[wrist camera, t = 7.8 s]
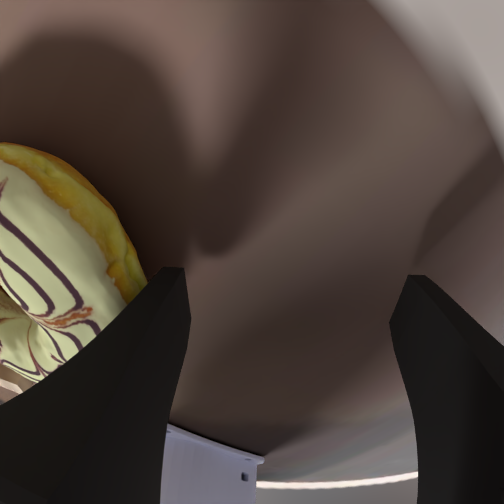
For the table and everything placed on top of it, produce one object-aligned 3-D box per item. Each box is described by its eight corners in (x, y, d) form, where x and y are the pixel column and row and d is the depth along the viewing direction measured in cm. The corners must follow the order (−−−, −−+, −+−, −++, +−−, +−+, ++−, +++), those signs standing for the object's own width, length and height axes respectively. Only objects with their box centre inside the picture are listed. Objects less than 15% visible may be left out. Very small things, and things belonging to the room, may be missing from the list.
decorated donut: (-64, 181, 8) (-115, 223, 5) (95, 68, 7) (2, 88, 4) (32, 344, 14) (5, 395, 11) (202, 338, 12) (188, 420, 9)
